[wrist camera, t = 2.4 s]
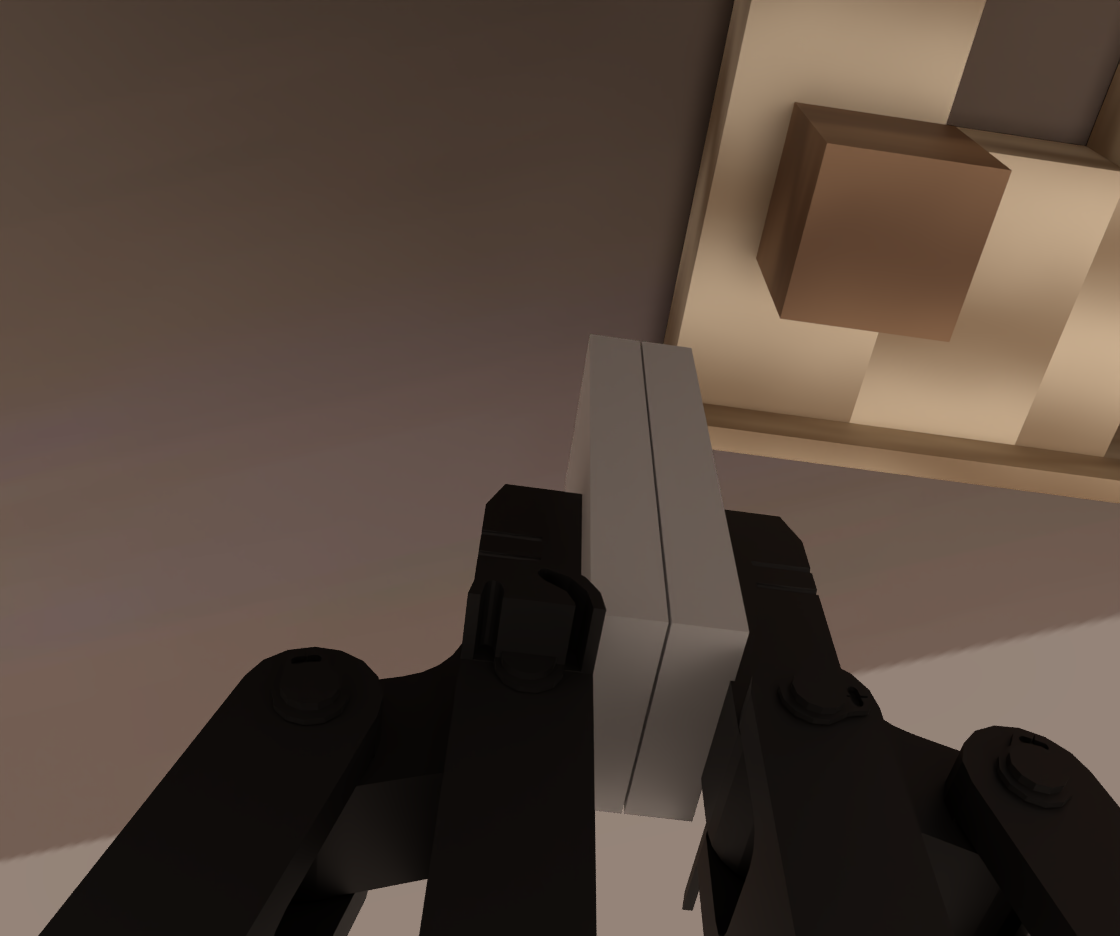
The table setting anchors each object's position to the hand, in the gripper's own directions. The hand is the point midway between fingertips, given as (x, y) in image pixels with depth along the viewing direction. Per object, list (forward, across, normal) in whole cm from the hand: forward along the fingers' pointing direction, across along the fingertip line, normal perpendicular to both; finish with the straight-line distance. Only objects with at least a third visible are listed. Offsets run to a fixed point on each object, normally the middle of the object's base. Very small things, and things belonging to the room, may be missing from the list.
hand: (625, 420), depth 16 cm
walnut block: (+15, +7, 0) cm, 17 cm away
